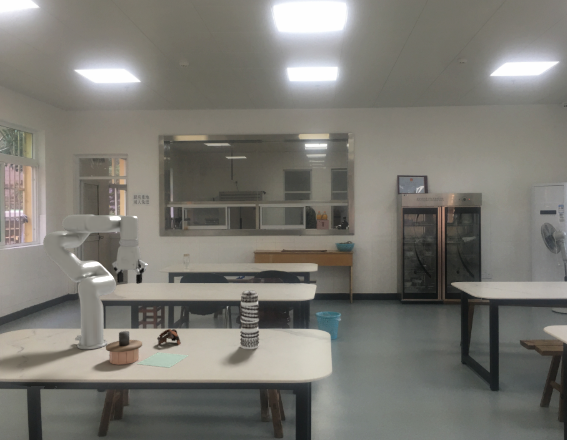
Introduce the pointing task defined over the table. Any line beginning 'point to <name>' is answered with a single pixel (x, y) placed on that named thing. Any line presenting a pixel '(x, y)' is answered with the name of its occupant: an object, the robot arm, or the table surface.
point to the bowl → (124, 357)
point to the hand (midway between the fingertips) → (129, 282)
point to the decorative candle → (249, 320)
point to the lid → (123, 343)
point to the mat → (163, 359)
